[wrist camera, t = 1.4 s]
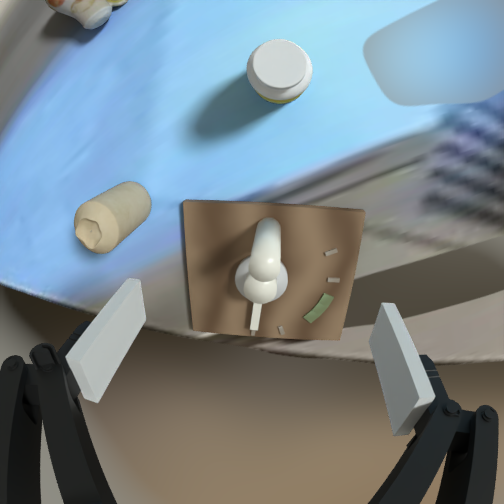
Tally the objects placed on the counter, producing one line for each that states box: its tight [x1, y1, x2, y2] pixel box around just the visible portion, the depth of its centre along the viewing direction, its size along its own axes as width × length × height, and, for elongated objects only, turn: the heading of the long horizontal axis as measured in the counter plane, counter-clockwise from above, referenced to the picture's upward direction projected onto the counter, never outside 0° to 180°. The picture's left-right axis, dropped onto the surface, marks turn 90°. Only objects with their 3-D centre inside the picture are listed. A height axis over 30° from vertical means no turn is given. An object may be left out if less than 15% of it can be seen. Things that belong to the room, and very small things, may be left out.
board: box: [183, 200, 365, 340], centre depth 37 cm, size 20×18×1 cm
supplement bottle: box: [247, 39, 313, 104], centre depth 23 cm, size 5×5×10 cm
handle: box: [235, 217, 288, 331], centre depth 32 cm, size 15×6×9 cm, turn 173°
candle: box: [74, 181, 151, 254], centre depth 30 cm, size 6×6×10 cm
